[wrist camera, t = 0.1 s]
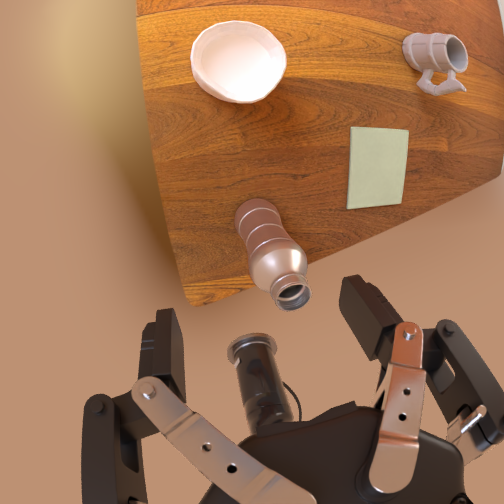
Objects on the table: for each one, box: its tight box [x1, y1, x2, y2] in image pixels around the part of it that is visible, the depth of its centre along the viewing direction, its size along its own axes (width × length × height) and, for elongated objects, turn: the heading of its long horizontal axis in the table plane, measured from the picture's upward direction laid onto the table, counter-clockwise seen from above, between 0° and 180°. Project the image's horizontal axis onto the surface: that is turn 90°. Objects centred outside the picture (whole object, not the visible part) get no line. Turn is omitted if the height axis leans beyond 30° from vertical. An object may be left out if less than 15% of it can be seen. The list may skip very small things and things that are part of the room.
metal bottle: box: [235, 198, 312, 312], centre depth 35 cm, size 6×7×20 cm
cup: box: [190, 21, 287, 103], centre depth 28 cm, size 10×10×10 cm
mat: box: [346, 127, 409, 209], centre depth 43 cm, size 14×12×1 cm
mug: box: [402, 33, 468, 96], centre depth 29 cm, size 8×12×12 cm, turn 174°
